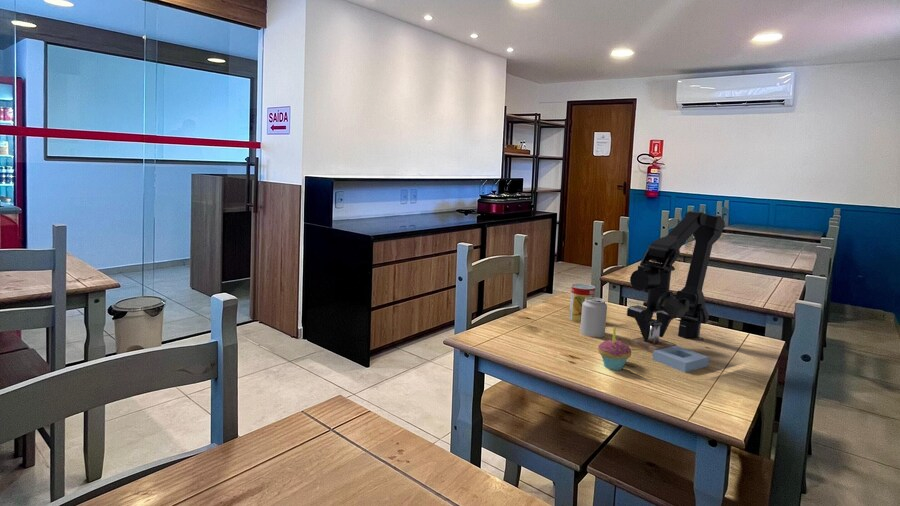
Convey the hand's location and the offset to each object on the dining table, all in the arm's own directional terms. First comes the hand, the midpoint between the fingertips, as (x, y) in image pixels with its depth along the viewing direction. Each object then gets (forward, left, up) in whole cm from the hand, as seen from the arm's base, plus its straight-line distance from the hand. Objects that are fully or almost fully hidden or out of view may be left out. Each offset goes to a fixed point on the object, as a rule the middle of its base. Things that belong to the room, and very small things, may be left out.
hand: (653, 338), depth 156 cm
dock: (+4, +12, -4) cm, 13 cm away
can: (+7, -17, -4) cm, 19 cm away
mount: (0, 0, -4) cm, 4 cm away
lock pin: (0, 0, -2) cm, 2 cm away
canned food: (-3, -32, -4) cm, 32 cm away
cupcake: (+21, +4, -4) cm, 22 cm away
